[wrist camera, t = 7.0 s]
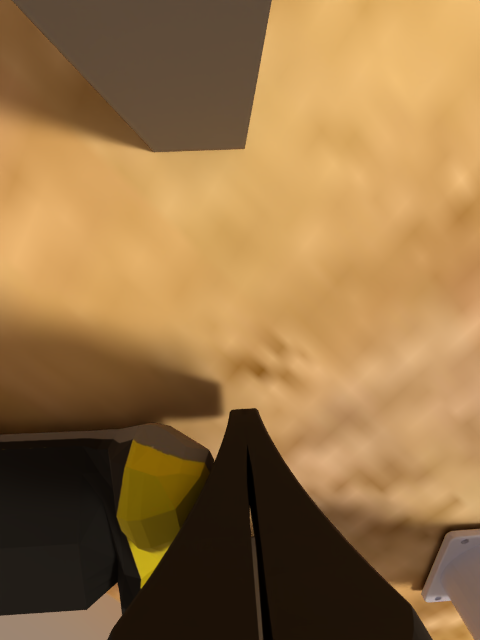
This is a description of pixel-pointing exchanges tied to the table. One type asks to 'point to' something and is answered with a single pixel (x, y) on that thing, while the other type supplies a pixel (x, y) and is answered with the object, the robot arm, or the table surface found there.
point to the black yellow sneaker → (91, 512)
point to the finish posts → (166, 71)
